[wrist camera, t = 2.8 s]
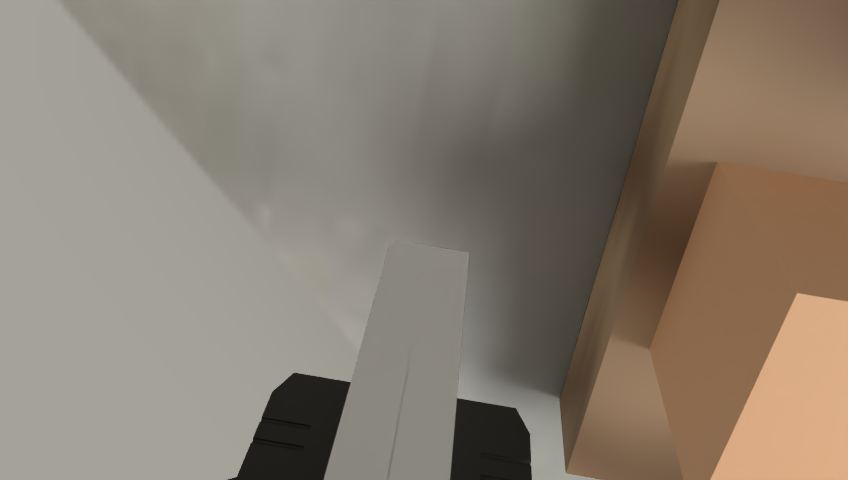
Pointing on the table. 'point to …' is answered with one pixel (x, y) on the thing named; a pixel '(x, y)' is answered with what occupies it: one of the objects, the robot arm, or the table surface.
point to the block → (760, 331)
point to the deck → (696, 200)
